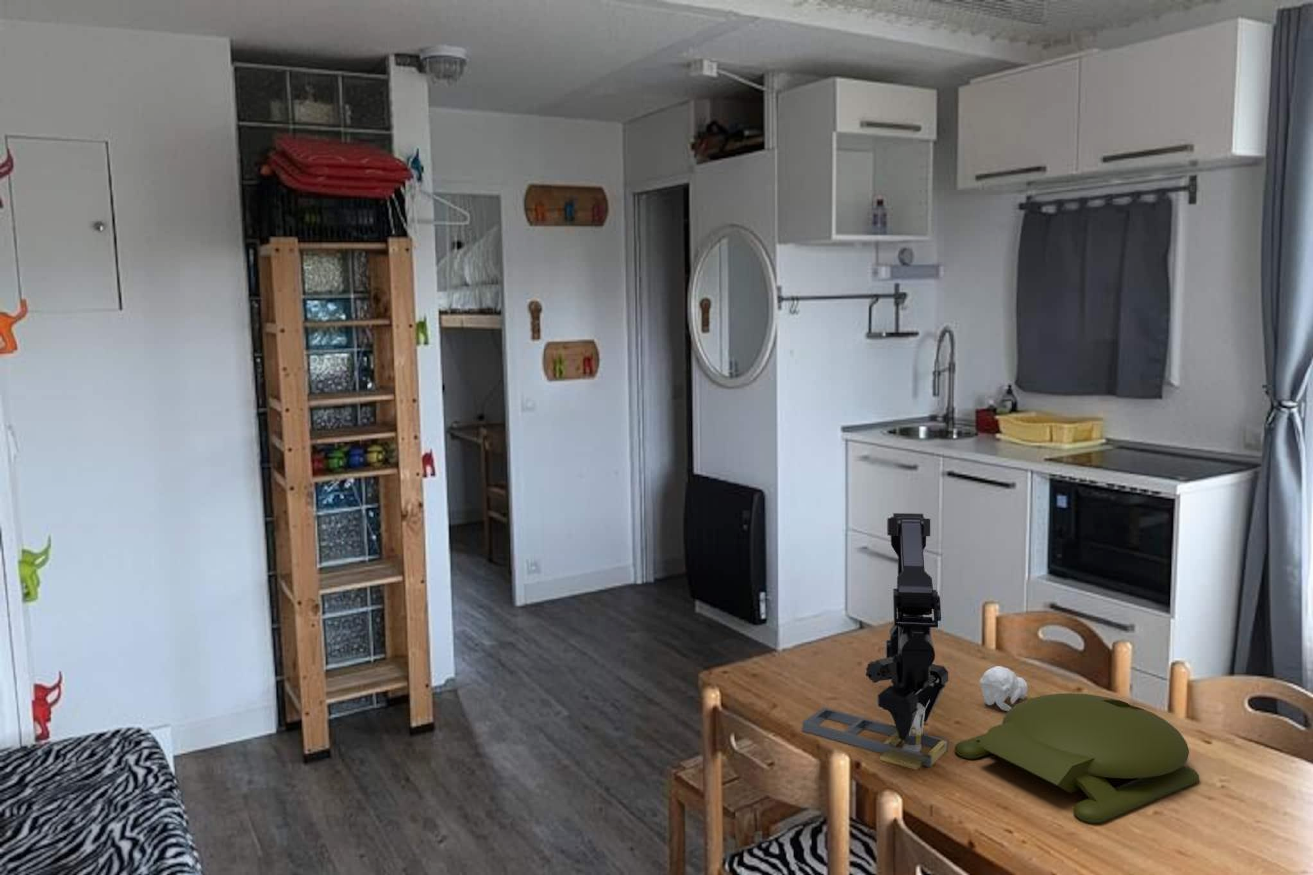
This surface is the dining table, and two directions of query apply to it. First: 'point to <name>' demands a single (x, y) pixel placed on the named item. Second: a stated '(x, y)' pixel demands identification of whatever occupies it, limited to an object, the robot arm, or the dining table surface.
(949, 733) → the dining table surface
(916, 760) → the rail
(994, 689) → the white bear figurine
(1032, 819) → the dining table surface
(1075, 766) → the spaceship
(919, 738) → the milkshake
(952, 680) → the dining table surface
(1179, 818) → the dining table surface
